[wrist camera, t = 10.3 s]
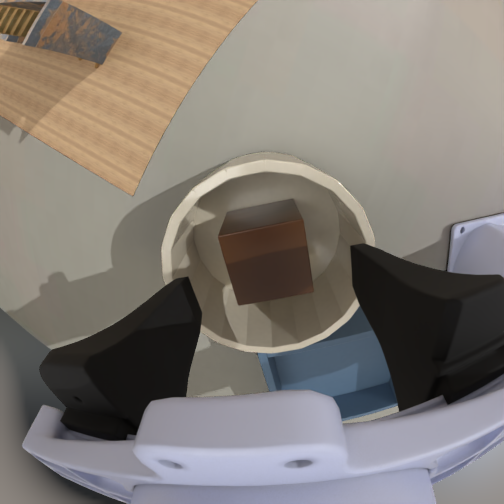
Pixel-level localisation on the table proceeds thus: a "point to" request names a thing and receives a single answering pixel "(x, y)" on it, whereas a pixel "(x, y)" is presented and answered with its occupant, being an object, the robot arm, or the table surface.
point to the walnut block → (266, 252)
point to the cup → (318, 240)
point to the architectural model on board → (106, 73)
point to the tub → (337, 369)
